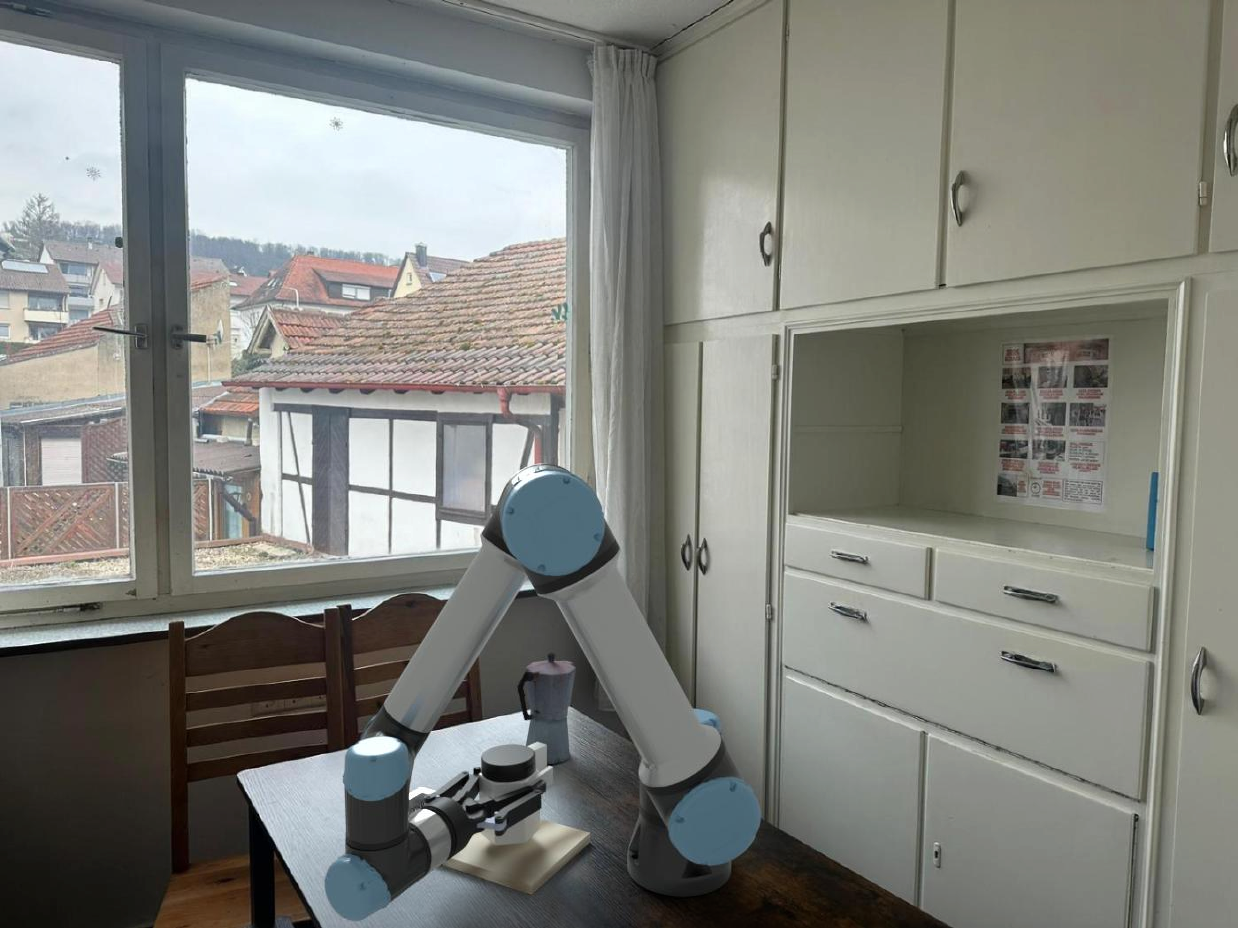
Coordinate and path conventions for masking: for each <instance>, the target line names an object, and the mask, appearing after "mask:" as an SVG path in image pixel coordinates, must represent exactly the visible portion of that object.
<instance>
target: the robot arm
mask: <svg viewBox="0 0 1238 928" xmlns="http://www.w3.org/2000/svg"><path fill="white" fill-rule="evenodd" d="M479 536H480V537H479V538H480V541H481V547H480V549H479V550H478V552H477V554H476V555H475V556H474V558H473V560H471V562H470V565H469V566H468V567H467V570H466V571H465V573H464V574H463V576H462V577H461V579H460V580H459V582H458V584H457V586H456V587H455V589H454V590H453V592H452V593H451V594H450V596H449V598H448V600H447V602H445V605H444V606H443V607H442V609H441V611H440V612H439V614H438V615H437V618H436V619H435V621H434V623H432V625H431V627H430V628H429V630H428V631H427V633H426V635H425V637H424V638H423V639H422V641H421V643H420V645H418V647H417V649H416V651H415V652H414V654H413V655H412V657H411V659H410V660H409V662H408V664H407V665H406V667H405V668H404V670H403V672H402V673H401V675H400V676H399V678H398V680H397V681H396V683H395V685H394V686H393V688H392V689H391V691H390V692H389V694H388V696H387V697H386V699H385V701H384V703H383V705H381V708H380V709H379V710H378V712H377V713H376V715H375V716H373V717H372V718H371V719H370V721H369V722H368V723H367V724H366V726H365V728H364V730H363V732H362V733H361V735H360V738H359V740H358V741H357V742H356V743H355V744H354V745H351V746H350V747H348V749H347V750H346V752H345V755H344V769H343V775H342V784H343V789H344V790H343V791H344V792H343V793H344V813H345V814H344V815H345V817H344V818H345V821H344V822H345V838H344V847H345V848H344V850H345V851H344V852H345V853H344V854H342V855H340V856H338V858H337V859H336V860H335V861H334V862H332V863H331V864H330V865H329V867H328V870H327V872H326V875H325V877H324V891H325V896H326V899H327V900H328V903H329V904H330V906H331V908H332V909H333V910H334V912H335V913H336V914H337V915H339V916H340V917H341V918H343V919H346V920H347V921H351V922H360V921H362V920H365V919H367V918H368V917H370V916H373V914H375V913H376V912H378V911H380V910H382V909H385V908H386V907H388V906H389V905H390V904H391V903H392V902H393V901H394V900H396V899H397V898H398V897H399V896H401V895H402V894H403V893H404V892H406V891H407V890H408V889H411V887H412V886H414V885H415V884H416V883H419V882H420V881H421V880H422V879H423V878H425V877H426V876H428V875H429V874H430V873H431V872H433V871H434V870H436V869H437V868H439V867H440V866H441V864H443V863H444V862H445V861H447V860H449V859H450V858H452V857H453V856H455V855H456V854H457V853H459V852H460V851H462V850H463V849H464V848H465V847H466V846H467V844H468V843H469V841H470V839H471V837H472V836H473V835H474V834H476V833H479V832H482V831H484V830H485V828H486V829H493V830H495V835H496V836H502V835H503V834H504V833H505V832H506V831H507V829H508V828H510V827H512V826H513V825H515V824H517V823H518V822H520V821H522V820H523V819H525V818H527V817H528V816H530V815H532V814H533V813H535V812H537V811H538V810H540V811H541V809H542V805H543V804H542V801H543V799H542V797H543V796H542V795H543V794H544V793H546V791H547V789H548V788H550V787H551V786H553V785H554V766H550V765H547V768H545V769H544V770H542V771H541V772H539V773H538V774H537V775H535V776H534V777H532V778H531V779H530V780H529V781H528V782H526V786H525V787H523V788H520V789H517V790H514V791H511V792H509V793H506V794H503V795H500V796H498V797H495V798H491V797H489V796H488V797H485V798H482V799H477V800H476V798H477V796H479V773H481V766H475V767H473V770H472V771H473V773H471V774H470V772H469V771H467V770H463V771H461V772H460V773H458V774H457V775H456V776H454V777H453V778H451V779H450V780H449V781H448V782H446V783H445V784H444V785H442V786H441V787H439V788H438V789H437V790H434V791H435V792H433V793H430V794H428V795H426V796H424V803H423V804H424V805H423V806H422V807H421V808H418V809H417V810H414V811H413V812H411V813H410V810H409V794H410V787H411V784H412V776H413V770H414V765H415V760H416V757H417V756H418V755H419V752H420V750H422V747H423V746H424V744H425V742H427V739H428V738H429V736H430V734H431V732H432V731H433V728H434V727H435V726H436V724H437V722H438V721H439V719H440V718H441V716H442V714H443V713H444V711H445V710H446V708H447V706H448V705H449V704H450V702H451V700H452V699H453V697H454V695H455V693H456V692H457V691H458V689H459V687H460V685H462V683H463V681H464V679H465V678H466V677H467V674H468V673H469V672H470V670H471V668H472V667H473V665H474V663H475V662H476V661H477V659H478V657H479V656H480V654H481V652H482V651H483V649H484V647H485V646H486V645H487V643H488V641H489V640H490V638H491V636H492V635H493V634H494V632H495V630H496V628H497V627H498V625H499V624H500V622H502V619H503V617H504V616H505V614H506V613H507V611H508V610H509V608H510V606H511V605H512V603H513V602H514V600H515V598H516V597H517V595H518V593H519V592H520V591H521V589H522V587H524V584H525V583H526V581H527V579H528V580H529V582H530V584H531V585H532V587H533V589H534V590H535V592H536V594H537V596H539V597H542V598H546V599H549V600H553V601H554V602H555V603H556V605H557V607H558V609H559V610H560V612H561V613H562V616H563V618H564V619H565V621H566V623H567V625H568V626H569V628H570V630H571V632H572V634H573V635H574V637H575V639H576V641H577V642H578V644H579V646H580V648H581V650H582V651H583V653H584V655H585V657H586V659H587V661H588V663H589V664H590V666H591V669H592V670H593V671H594V674H595V675H596V677H597V679H598V681H599V682H600V685H601V686H602V688H603V690H604V691H605V694H606V696H607V697H608V699H609V700H610V702H611V704H612V705H613V707H614V709H615V711H616V713H617V716H618V717H619V719H620V720H621V722H622V724H623V726H624V727H625V730H626V731H627V732H628V735H629V736H630V739H631V741H632V742H633V744H634V746H635V747H636V750H637V751H638V753H639V767H638V777H639V812H638V813H639V815H638V817H637V821H636V824H635V826H634V830H633V832H632V836H631V838H630V841H629V845H628V849H627V855H626V856H627V860H626V861H627V862H626V863H627V864H626V868H627V872H628V874H629V877H631V879H632V880H633V881H634V882H635V883H637V885H639V886H641V887H642V888H644V889H645V890H648V891H651V892H653V893H656V894H659V895H663V896H669V897H684V898H685V897H696V896H701V895H706V894H709V893H711V892H714V891H716V890H718V889H720V888H721V887H723V886H724V885H725V884H726V883H727V882H728V880H729V879H730V878H731V873H732V861H733V860H734V859H736V858H738V857H740V855H742V854H743V853H744V852H745V851H746V850H747V849H749V847H750V846H751V845H752V844H753V842H754V841H755V839H756V835H757V833H758V830H759V828H760V825H761V819H762V818H761V817H762V815H761V814H762V812H761V806H760V803H759V801H758V796H757V794H756V791H755V789H754V788H753V787H752V786H751V785H750V784H749V783H748V782H746V780H745V778H744V776H743V774H742V773H741V771H740V769H739V768H738V766H737V764H736V762H735V760H734V759H733V756H732V755H731V752H730V751H729V749H728V747H727V745H726V743H725V741H724V740H723V738H722V733H723V729H722V727H721V725H722V724H721V718H719V716H718V715H716V714H715V713H713V712H711V711H709V710H704V709H700V708H699V709H698V708H693V707H692V706H691V703H690V701H689V699H688V697H687V696H686V694H685V692H684V690H683V688H682V686H681V684H680V683H679V681H678V679H677V677H676V675H675V673H674V672H673V669H672V667H671V666H670V663H669V662H668V660H667V658H666V656H665V654H664V653H663V651H662V649H661V647H660V645H659V643H658V642H657V639H656V638H655V636H654V634H653V632H652V631H651V629H650V626H649V625H648V623H647V621H646V619H645V617H644V616H643V614H642V612H641V610H640V608H639V606H638V605H637V602H636V601H635V599H634V597H633V595H632V593H631V591H630V590H629V588H628V586H627V584H626V581H625V580H624V579H623V576H622V575H621V572H620V571H619V569H618V567H617V566H618V561H619V557H620V555H621V552H622V549H621V547H620V544H619V543H618V541H617V539H616V537H615V536H614V533H613V532H612V530H611V528H610V526H609V524H608V522H607V520H606V518H605V513H604V511H603V506H602V504H601V501H600V499H599V498H598V496H597V493H595V491H594V489H593V488H592V487H591V486H590V485H589V484H588V483H587V482H586V481H585V480H584V479H582V478H580V477H579V476H578V475H576V474H574V473H572V472H571V471H569V470H568V469H566V468H564V467H562V466H560V465H558V464H553V463H546V462H544V463H536V464H535V463H534V464H532V465H528V466H525V467H523V468H522V469H520V470H519V471H516V473H515V474H513V475H512V476H511V477H510V479H509V481H507V482H506V484H505V486H504V487H503V490H502V492H501V494H500V496H499V498H498V501H497V504H496V505H495V508H494V510H493V511H492V514H491V516H490V517H489V519H488V521H487V523H486V525H485V526H484V528H483V530H482V531H481V532H480V534H479Z"/></svg>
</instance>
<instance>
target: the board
mask: <svg viewBox="0 0 1238 928" xmlns="http://www.w3.org/2000/svg"><path fill="white" fill-rule="evenodd" d="M590 843H591V832H588V831H585V830H582V829H578V828H574V827H571V826H567V825H564V824H560V823H557V822H554V821H549V820H546V819H543V818H540V829H539V830H538V831H537V832H536V833H535V834H534V835H533V836H532V837H531V838H530V839H529V840H528V841H527V842H526V843H520V844H508V845H494V844H493V843H492V842H490V841H489V840H488V839H487V838H485V837H484V836H483V835H482V834H481V833H480V832H479V833H476V834H474V835H473V836H472V837H471V839H470V841H469V843H468V844H467V846H466V847H465V848H464V849H463V850H462V851H460V852H459V853H457V854H456V855H455V856H453V857H452V858H450V859H449V860H447V861H445V862H444V863H443V864H442V866H444V867H447V868H450V869H453V870H457V871H459V872H462V873H466V874H468V875H470V876H471V875H472V876H474V877H477V878H481V879H482V880H483V879H484V880H486V881H489V882H491V883H492V882H493V883H494V884H498V885H501V886H504V887H507V888H510V889H513V890H515V891H519V892H520V893H521V892H522V893H525V894H528V895H531V896H532V895H534V893H536V891H538V890H539V889H540V888H541V887H542V886H543V885H545V884H546V882H548V881H549V880H551V878H552V877H553V876H555V874H557V873H558V872H559V871H560V870H561V869H562V868H564V866H566V865H567V864H568V863H569V862H570V861H571V860H572V859H573V858H574V857H575V856H577V855H578V854H579V853H580V852H581V851H582V850H583V849H585V848H586V847H587V846H588V845H589V844H590Z"/></svg>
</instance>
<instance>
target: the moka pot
mask: <svg viewBox="0 0 1238 928" xmlns="http://www.w3.org/2000/svg"><path fill="white" fill-rule="evenodd" d="M556 655H557V654H556V653H554V652H549V653H547V660H543V661H533V662H531V663H530V664H529V665H527V666H526V667H525V671H524V673H523V674H522V678H521V679H520V681H519V682H518V683H517V694H518V696H519V702H520V707H521V711H522V712H521V713H522V716H523V721H529V725H528V731H527V737H526V742H525V746H529V745H531V744H533V743H536V742H540V743H543V744H546V745H547V765H551V764H552V765H553V764H559V763H563V762H565V761H567V760H569V759H570V756H571V751H570V740H569V725H568V714H569V713H568V711H569V707H570V706H571V701H572V694H573V689H574V688H573V687H574V681H575V676H576V675H575V674H576V666H574V663H573V662H571V661H569V660H559V661H558V660H555V659H556ZM525 684H526V687H527V689H526V690H527V700H528V702H526V693H525V689H524V686H525ZM526 703H528V706H529V708H530V710H529V711H530V714H529V712H528V708H527V704H526Z"/></svg>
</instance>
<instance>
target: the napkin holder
mask: <svg viewBox="0 0 1238 928" xmlns="http://www.w3.org/2000/svg"><path fill="white" fill-rule="evenodd" d="M528 747H530V748H532V749H533V750H534V751H535V760H536V768H537V769H538V770H539V772H541V771H542V770H544V769H545V768H547V767H548V764H547V745H546V744H543V743H540V742H536V743H533V744H531V745H529V746H528Z"/></svg>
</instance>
